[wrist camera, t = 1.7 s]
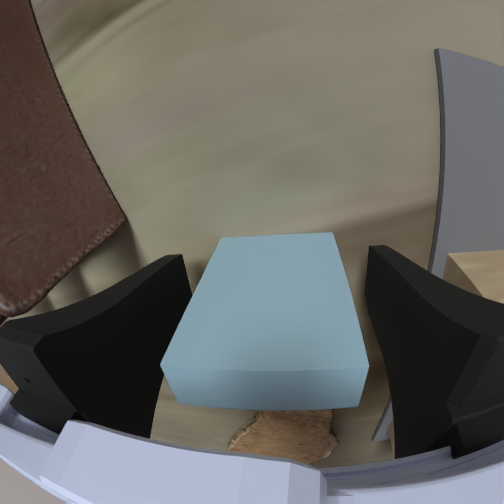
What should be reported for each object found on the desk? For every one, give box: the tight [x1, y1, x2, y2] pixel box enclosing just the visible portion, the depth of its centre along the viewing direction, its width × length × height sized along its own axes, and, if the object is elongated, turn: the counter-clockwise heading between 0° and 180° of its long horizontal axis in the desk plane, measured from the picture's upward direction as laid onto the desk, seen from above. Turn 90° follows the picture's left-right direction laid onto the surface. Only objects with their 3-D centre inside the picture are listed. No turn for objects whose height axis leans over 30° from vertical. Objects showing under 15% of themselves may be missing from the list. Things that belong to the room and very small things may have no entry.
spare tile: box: [160, 232, 369, 410], centre depth 9 cm, size 2×5×7 cm, turn 97°
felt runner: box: [372, 48, 504, 442], centre depth 12 cm, size 7×26×1 cm, turn 6°
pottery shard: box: [227, 409, 339, 465], centre depth 20 cm, size 8×16×2 cm, turn 158°
